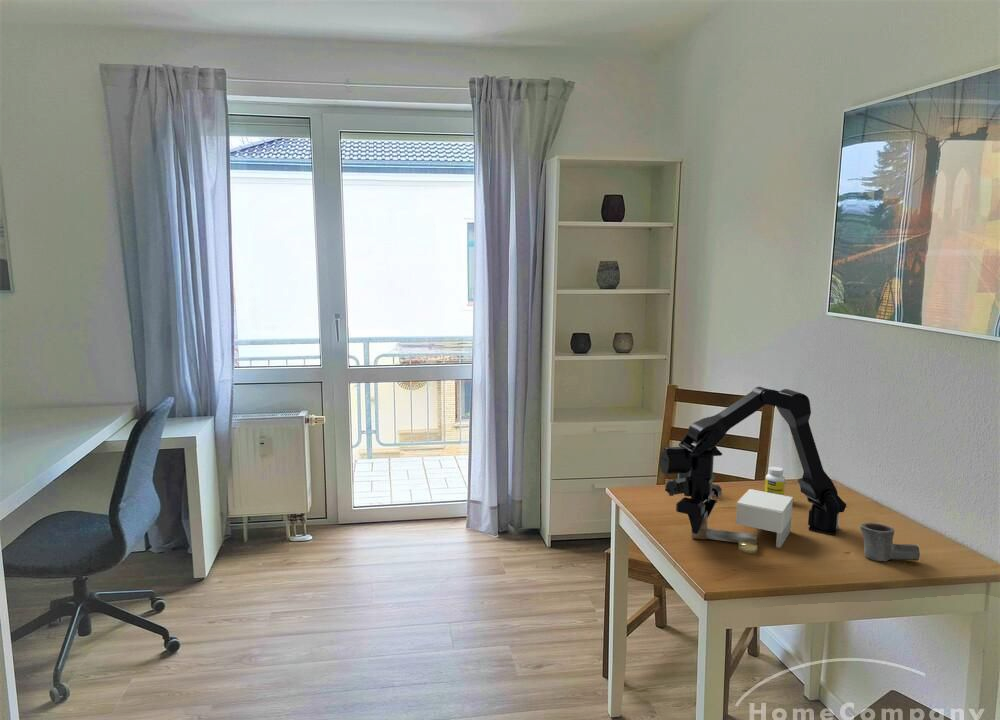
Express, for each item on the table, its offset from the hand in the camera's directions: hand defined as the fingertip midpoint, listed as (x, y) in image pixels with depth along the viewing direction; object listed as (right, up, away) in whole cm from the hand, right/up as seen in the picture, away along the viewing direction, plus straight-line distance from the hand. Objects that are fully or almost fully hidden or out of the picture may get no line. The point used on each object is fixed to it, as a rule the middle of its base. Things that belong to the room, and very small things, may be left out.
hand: (698, 530), depth 170 cm
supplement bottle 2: (+31, +2, +28) cm, 42 cm away
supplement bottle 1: (+8, +3, +36) cm, 37 cm away
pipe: (+42, -4, -12) cm, 44 cm away
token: (+10, -3, -7) cm, 13 cm away
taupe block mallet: (+6, -2, -2) cm, 6 cm away
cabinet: (+18, -2, +2) cm, 18 cm away
